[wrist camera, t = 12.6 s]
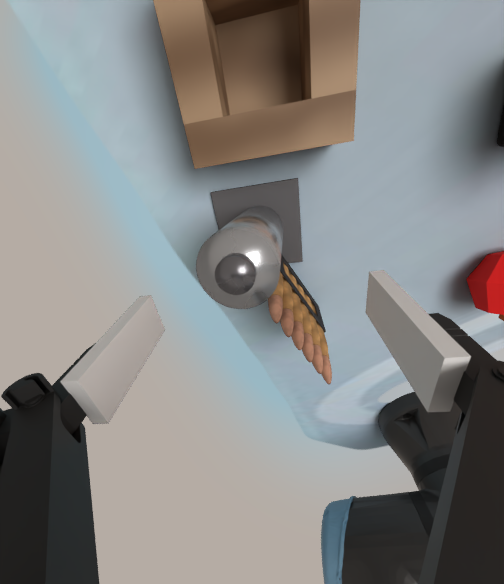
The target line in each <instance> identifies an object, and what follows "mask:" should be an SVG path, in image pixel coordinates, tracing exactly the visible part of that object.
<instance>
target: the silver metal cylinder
mask: <svg viewBox="0 0 504 584" xmlns="http://www.w3.org/2000/svg"><path fill="white" fill-rule="evenodd" d="M282 242H283V223H282V220H281V218H280V216H279V215H278V214H277V213H276V212H275V211H274V210H273V209H271V208H269V207H266V206H260V205H259V206H253V207H250V208H248V209H247V210H245V211H244V212H243V213H241V214H240V215H239V216H237V217H236V218H235V219H233V220H232V221H231V222H229V223H228V224H227V225H226V226H224V227H223V228H222V229H220V230H219V231H218V232H216V233H215V234H214V235H212V236H211V237H210V238H209V239H207V240H206V241H205V243H204V244H203V245H202V247H201V249H200V251H199V253H198V256H197V262H196V270H197V276H198V279H199V281H200V284H201V286H202V287H203V289H204V290H205V291H206V293H207V294H208V295H209V296H210V297H211V298H212V299H214V300H215V301H217V302H218V303H220V304H222V305H224V306H227V307H230V308H236V309H247V308H252V307H255V306H258V305H260V304H262V303H263V302H265V301H266V300H267V299H268V298H269V297H270V296H271V295H272V294H273V292H274V291H275V289H276V287H277V285H278V281H279V276H280V265H281V253H282Z"/></svg>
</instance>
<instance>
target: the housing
mask: <svg viewBox="0 0 504 584" xmlns="http://www.w3.org/2000/svg"><path fill="white" fill-rule="evenodd" d="M153 1H154V5H155V9H156V13H157V17H158V21H159V26H160V30H161V34H162V38H163V42H164V46H165V50H166V54H167V58H168V62H169V66H170V70H171V74H172V78H173V82H174V87H175V91H176V95H177V99H178V103H179V107H180V111H181V115H182V119H183V123H184V127H185V131H186V135H187V139H188V143H189V147H190V152H191V156H192V160H193V164H194V168H195V169H197V168H203V167H208V166H214V165H220V164H225V163H231V162H236V161H242V160H248V159H253V158H259V157H265V156H270V155H276V154H282V153H287V152H293V151H299V150H304V149H310V148H315V147H321V146H327V145H332V144H338V143H344V142H349V141H354V122H355V101H356V80H357V60H358V39H359V18H360V0H153Z"/></svg>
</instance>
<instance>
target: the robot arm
mask: <svg viewBox="0 0 504 584" xmlns="http://www.w3.org/2000/svg"><path fill="white" fill-rule="evenodd" d="M366 314H367V315H368V317H369V319H370V320H371V322H372V324H373V325H374V327H375V328H376V330H377V332H378V333H379V335H380V336H381V338H382V340H383V341H384V343H385V344H386V346H387V348H388V349H389V351H390V353H391V354H392V356H393V357H394V359H395V361H396V362H397V364H398V365H399V367H400V369H401V370H402V372H403V373H404V375H405V377H406V378H407V380H408V382H409V383H410V385H411V386H412V388H413V389H414V391H415V392H412V393H409V394H406V395H404V396H401V397H399V398H397V399H396V400H394V401H392V402H391V403H389V404H388V405H387V406H386V407H385V408H384V409H383V410H382V412H381V413H380V415H379V419H378V423H379V427H380V429H381V431H382V434H383V436H384V438H385V440H386V441H387V443H388V444H389V445H390V446H391V448H392V449H393V450H394V452H395V453H396V454H397V456H398V457H399V458H400V459H401V461H402V462H403V463H404V465H405V466H406V467H407V468H408V470H409V471H410V472H411V474H412V476H413V478H414V481H415V483H416V485H417V487H418V489H419V491H414V492H405V493H397V494H388V495H379V496H370V497H359V498H356V497H355V496H352V497H350V499H344V500H339V501H333V502H331V503H329V505H328V506H327V507H326V509H325V511H324V515H323V520H322V532H321V549H322V565H323V574H324V583H325V584H504V362H502V361H497V360H496V359H494V358H493V357H492V356H491V355H490V354H489V353H488V352H487V351H486V350H485V349H483V348H482V347H481V346H480V345H479V344H478V343H477V342H476V341H474V340H473V339H472V338H471V337H470V336H468V335H467V333H465V332H464V331H463V330H462V329H460V327H459V326H458V325H457V324H455V323H454V322H453V321H452V320H451V319H449V318H447V317H445V316H443V315H441V314H439V313H434V314H428V313H427V312H426V311H425V310H424V309H422V308H421V307H420V306H419V305H418V304H417V303H416V302H415V301H414V300H413V299H412V298H411V297H410V296H409V295H408V294H407V293H406V292H405V291H404V290H403V289H402V288H401V287H400V286H399V285H398V284H397V283H396V282H395V281H394V280H393V279H392V278H391V277H390V276H389V275H388V274H387V273H386V272H385V271H384V270H381V271H371V272H369V280H368V291H367V302H366ZM164 331H165V329H164V326H163V324H162V321H161V319H160V316H159V314H158V311H157V309H156V307H155V304H154V302H153V299H152V297H151V295H150V296H140V297H139V298H138V299H137V300H136V301H135V302H134V303H133V304H132V305H131V306H130V307H129V309H128V310H127V311H126V312H125V313H124V314H123V315H122V316H121V317H120V318H119V319H118V320H117V321H116V323H114V325H113V326H112V327H111V328H110V329H109V330H108V331H107V332H106V333H105V334H104V335H103V336H102V337H101V339H100V340H99V341H98V342H97V343H95V344H94V345H92V346H91V347H90V348H88V349H87V350H86V351H85V352H84V353H83V354H82V355H81V356H80V358H79V359H77V360H76V361H75V362H74V365H71V367H70V368H69V369H68V370H67V371H66V372H65V373H64V374H63V375H62V376H61V377H60V378H59V379H58V380H57V381H56V382H55V383H54V384H53V385H52V386H51V384H50V383H49V382H48V381H47V380H46V378H45V377H44V376H43V375H42V374H40V373H35V374H31V375H28V376H25V377H23V378H21V379H19V380H18V381H16V382H15V383H13V384H12V385H11V386H9V387H8V388H7V389H6V390H5V391H4V392H3V394H2V398H3V399H4V400H5V401H6V402H7V403H8V404H9V405H10V406H11V407H12V409H8V410H5V411H2V409H1V408H0V584H99V577H98V565H97V554H96V544H95V533H94V521H93V511H92V500H91V489H90V478H89V469H88V468H89V467H88V457H87V445H86V435H85V427H84V426H83V424H82V421H83V420H84V418H85V417H86V416H87V417H88V418H89V419H90V421H91V422H92V423H93V424H105V423H109V422H110V420H111V418H112V417H113V415H114V413H115V411H116V410H117V408H118V407H119V405H120V403H121V402H122V400H123V399H124V397H125V395H126V394H127V392H128V390H129V388H130V387H131V385H132V384H133V382H134V380H135V379H136V377H137V375H138V374H139V372H140V370H141V369H142V367H143V366H144V364H145V362H146V361H147V359H148V357H149V356H150V354H151V352H152V351H153V349H154V347H155V346H156V344H157V342H158V341H159V339H160V337H161V336H162V334H163V332H164Z"/></svg>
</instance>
